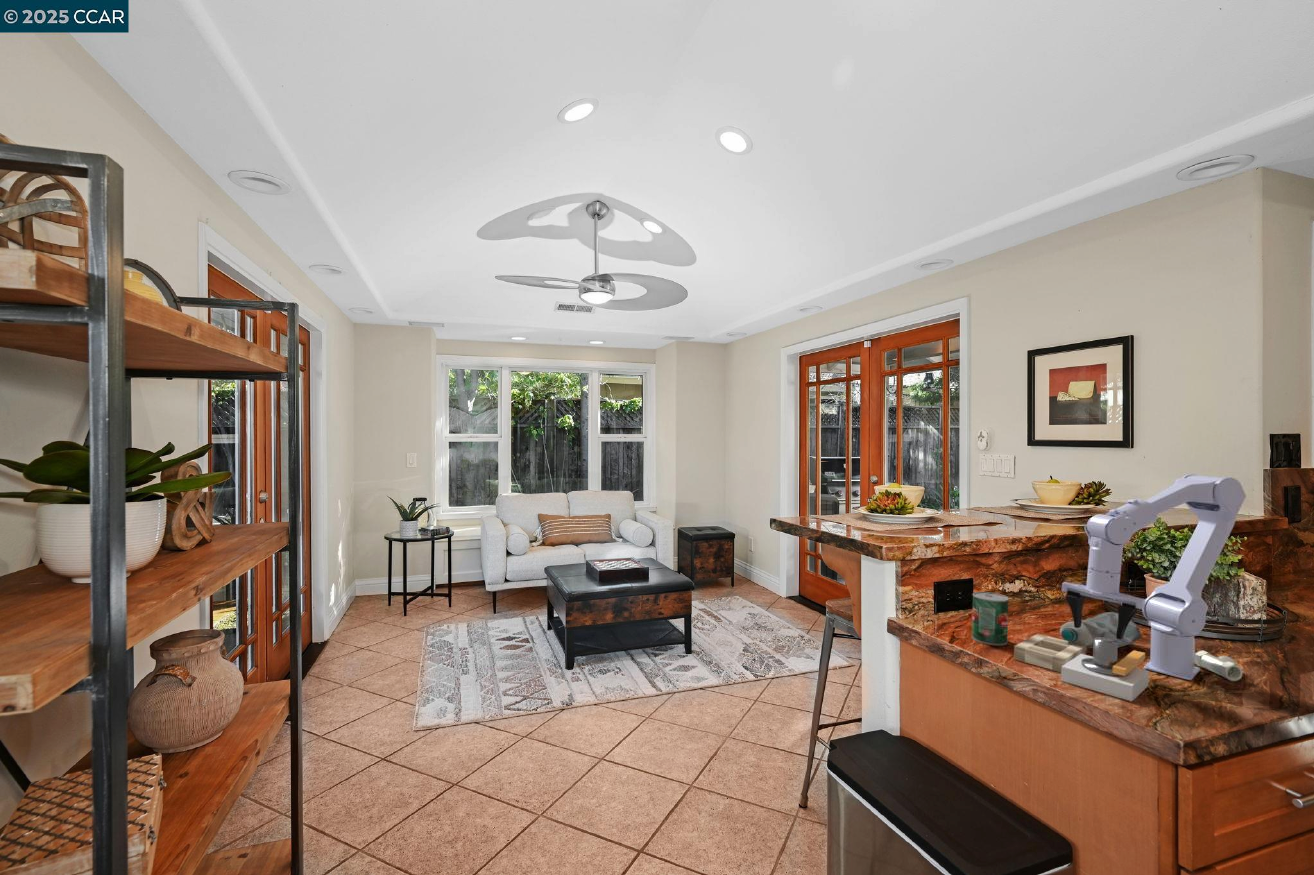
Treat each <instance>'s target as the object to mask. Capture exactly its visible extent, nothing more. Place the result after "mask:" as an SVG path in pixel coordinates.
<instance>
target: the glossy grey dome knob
mask: <svg viewBox="0 0 1314 875" xmlns="http://www.w3.org/2000/svg"><path fill="white" fill-rule="evenodd" d="M1092 649H1093V650H1092V651H1093V652H1092V657H1093V658H1085V659H1082V661H1081V664H1082V666H1083V667H1085V668H1087V669H1089V670H1091V671H1094V672H1097V673H1101V674H1105V675H1111V676H1123V675H1119V674H1116V673H1113V666H1114V665H1116V664H1117V663H1118V649H1119V648H1118V642H1117V641H1115V640H1112V639H1109V638H1104V637H1095V638H1094V648H1092ZM1127 675H1129V673H1128V674H1126V675H1125V676H1127Z"/></svg>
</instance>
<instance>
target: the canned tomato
mask: <svg viewBox="0 0 1314 875" xmlns="http://www.w3.org/2000/svg"><path fill="white" fill-rule="evenodd" d="M1009 600H1010V599H1009V597H1008V596H1005V595H1003V594H1000V593H995V592H988V591H976V592H973V593H972V623H971V638H972V639H973V640H974V641H976V642H977V643H980V644H984V645H990V646H1005V645H1007V644H1008V643H1009V642H1008V636H1009V635H1008V633H1009Z"/></svg>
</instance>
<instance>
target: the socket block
mask: <svg viewBox="0 0 1314 875" xmlns="http://www.w3.org/2000/svg"><path fill="white" fill-rule="evenodd" d="M1085 658H1093V655H1092V656H1091V655H1087V654H1086V655H1084V654H1080V655H1078V656H1077V657H1075V658H1074V659H1072V660H1071V661H1069V662H1068V663H1066V664H1065V665H1063V666H1062V667H1061V672H1060V674H1061V675H1060V676H1061V677H1060V681H1061V682H1064V683H1067V684H1069V685H1075V686H1078V687H1080V688H1084V689H1088V690H1090V691H1091V690H1092V691H1095V692H1098V693H1102V694H1105V695H1109V696H1112V697H1115V698H1119V699H1122V700H1125V701H1129V702H1133V701H1134V700H1135V699H1136V698H1138V696H1139V695H1141V693H1142V692H1143V691H1145V689H1147V687H1148V686H1149V676H1150V675H1149V673H1150V670H1147V669H1145V670H1144V669H1141V668H1139V667H1135V668H1134V669H1132V670H1131V671H1130V672H1129V675H1127V676H1111V675H1105V674H1101V673H1097V672H1094V671H1091V670H1089V669H1087V668H1085V667H1083V666H1082V664H1081V661H1082V659H1085Z"/></svg>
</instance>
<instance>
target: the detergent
mask: <svg viewBox="0 0 1314 875" xmlns="http://www.w3.org/2000/svg"><path fill="white" fill-rule="evenodd" d="M1117 628H1118V612H1113V611H1112V612H1111V611H1109V612H1103V613H1100V614H1097V615H1096V616H1094V617H1089V618H1086V619H1082V623H1081V627H1080V628H1075V627H1074V620H1073V621H1072V620H1071V621H1067V622H1066V623H1064V624H1062V625H1061V627H1060V628H1059V633H1060V635H1061V637H1062V640H1065V641H1068V642H1073V643H1077V644H1081V645H1086V650H1087V649H1094V638H1095V637H1104V638H1109V639H1112V640H1115V641H1117V642H1118V649H1119V648H1122V647H1125V646H1127V645H1131V644H1133V643H1135V642H1136V641H1138V640H1140V639H1142V638H1143V635H1142V634H1141V631H1140V629H1139V626H1138V625H1137V624H1136V623H1135V621H1133V620H1132V619H1131V620H1130V622H1129V624H1128V626H1127V628H1126V630H1125V633H1124V636H1123V638H1122V639H1117V638H1116V634H1117Z"/></svg>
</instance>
